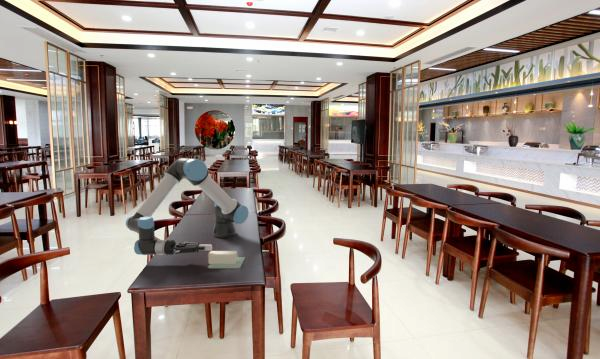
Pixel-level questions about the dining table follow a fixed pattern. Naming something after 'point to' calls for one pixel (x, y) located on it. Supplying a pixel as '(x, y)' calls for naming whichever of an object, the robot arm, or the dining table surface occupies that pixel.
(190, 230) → the dining table surface
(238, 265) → the sage mat
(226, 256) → the cream block
